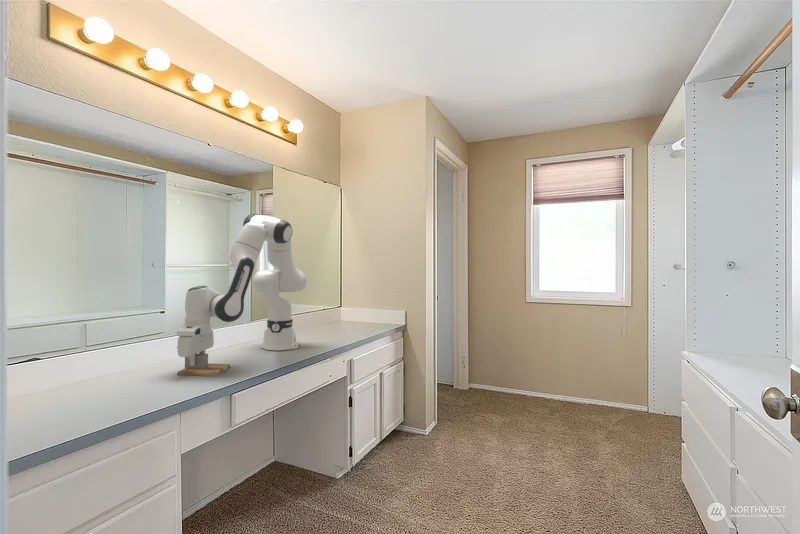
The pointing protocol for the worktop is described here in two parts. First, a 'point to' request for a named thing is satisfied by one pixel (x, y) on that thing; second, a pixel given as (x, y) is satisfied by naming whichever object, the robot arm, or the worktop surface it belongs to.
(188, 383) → the worktop surface
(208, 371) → the board
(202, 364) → the sanding block
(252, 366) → the worktop surface
